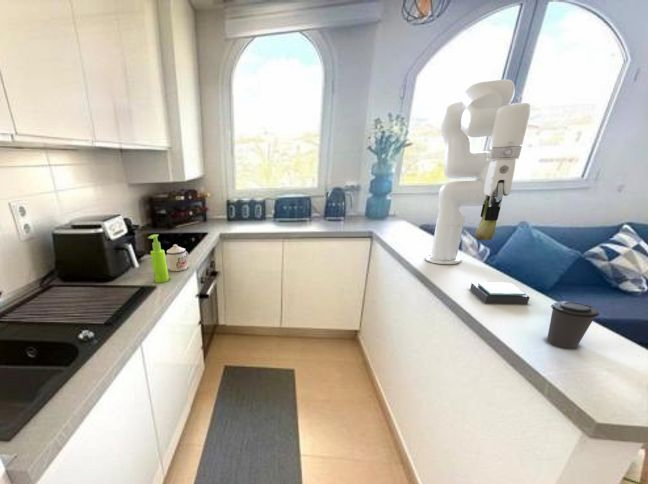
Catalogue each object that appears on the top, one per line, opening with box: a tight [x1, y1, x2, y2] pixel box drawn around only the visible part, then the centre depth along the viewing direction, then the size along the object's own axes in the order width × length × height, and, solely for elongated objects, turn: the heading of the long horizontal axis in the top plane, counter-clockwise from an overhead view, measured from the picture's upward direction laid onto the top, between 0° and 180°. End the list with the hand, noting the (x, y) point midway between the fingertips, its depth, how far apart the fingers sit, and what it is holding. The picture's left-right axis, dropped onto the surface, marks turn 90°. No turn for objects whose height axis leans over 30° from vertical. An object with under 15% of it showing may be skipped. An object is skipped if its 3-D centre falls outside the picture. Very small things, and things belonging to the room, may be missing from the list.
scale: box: [469, 281, 530, 306], centre depth 108 cm, size 12×11×3 cm
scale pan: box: [477, 282, 527, 295], centre depth 107 cm, size 10×9×1 cm
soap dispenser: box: [147, 234, 170, 284], centre depth 146 cm, size 6×7×20 cm
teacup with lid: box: [165, 243, 189, 272], centre depth 163 cm, size 12×9×12 cm
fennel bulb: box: [474, 201, 498, 241], centre depth 106 cm, size 6×5×12 cm
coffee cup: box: [546, 301, 600, 350], centre depth 80 cm, size 8×8×10 cm
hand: (488, 218), depth 106 cm, fingers closed on fennel bulb, 5 cm apart
